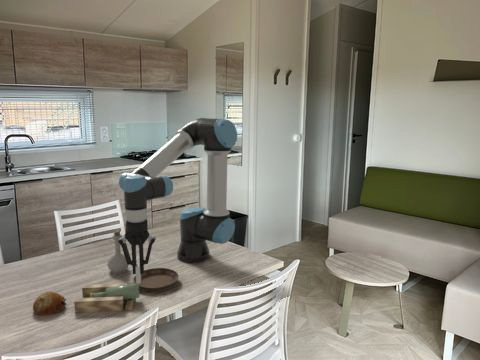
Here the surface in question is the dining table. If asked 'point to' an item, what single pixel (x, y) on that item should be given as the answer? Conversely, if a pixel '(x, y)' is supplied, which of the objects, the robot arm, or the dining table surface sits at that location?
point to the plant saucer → (157, 279)
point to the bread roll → (49, 303)
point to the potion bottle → (117, 257)
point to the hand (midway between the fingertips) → (138, 281)
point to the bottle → (119, 292)
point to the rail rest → (101, 300)
